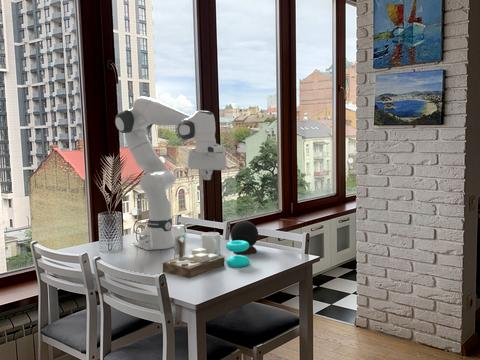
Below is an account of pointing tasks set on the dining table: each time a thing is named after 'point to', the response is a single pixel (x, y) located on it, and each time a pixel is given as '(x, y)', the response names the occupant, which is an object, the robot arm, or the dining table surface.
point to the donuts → (237, 259)
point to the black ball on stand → (245, 235)
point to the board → (191, 266)
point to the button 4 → (212, 256)
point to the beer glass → (179, 240)
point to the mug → (211, 242)
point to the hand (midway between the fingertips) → (207, 179)
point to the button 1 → (188, 257)
